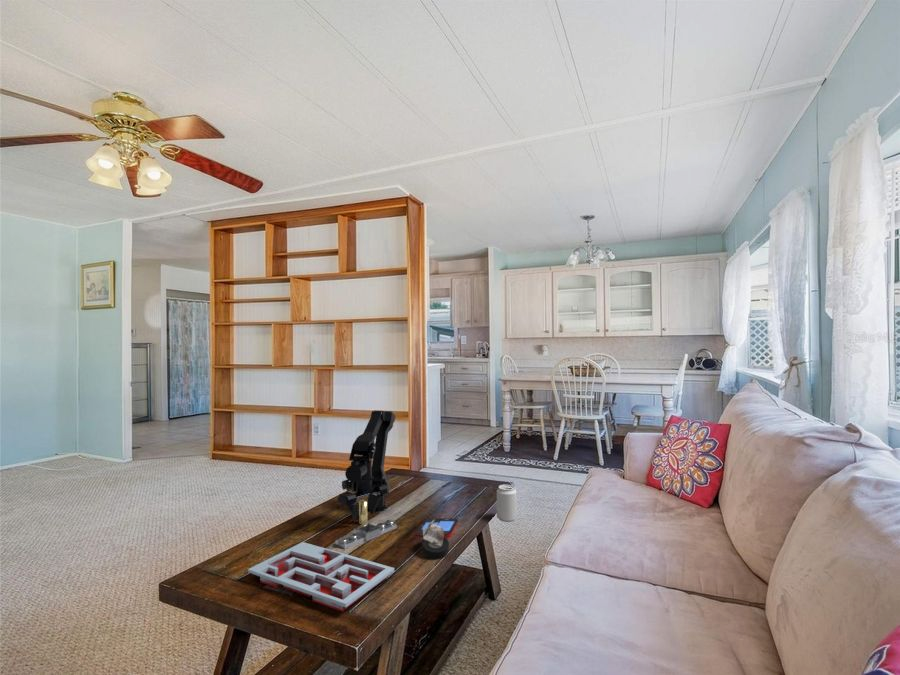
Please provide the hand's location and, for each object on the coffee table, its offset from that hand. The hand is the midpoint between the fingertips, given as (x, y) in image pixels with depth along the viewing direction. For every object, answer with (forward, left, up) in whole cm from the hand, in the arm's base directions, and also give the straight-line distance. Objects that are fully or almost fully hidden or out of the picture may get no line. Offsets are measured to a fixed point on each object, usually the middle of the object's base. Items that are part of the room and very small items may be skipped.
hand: (363, 517), depth 161 cm
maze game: (+32, +23, -3) cm, 40 cm away
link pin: (0, 0, -2) cm, 2 cm away
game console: (-14, +24, -3) cm, 28 cm away
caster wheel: (-1, +35, -2) cm, 35 cm away
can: (-38, +37, -2) cm, 53 cm away
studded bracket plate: (+6, +10, -2) cm, 12 cm away
